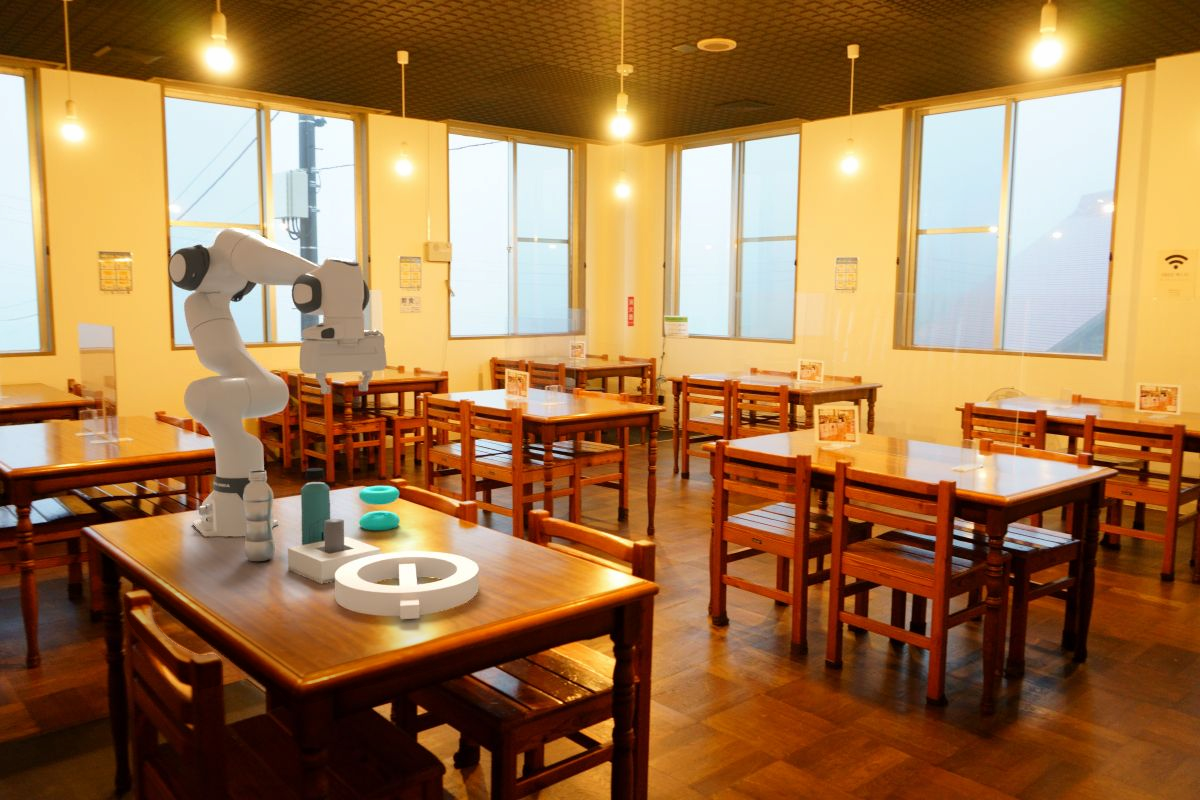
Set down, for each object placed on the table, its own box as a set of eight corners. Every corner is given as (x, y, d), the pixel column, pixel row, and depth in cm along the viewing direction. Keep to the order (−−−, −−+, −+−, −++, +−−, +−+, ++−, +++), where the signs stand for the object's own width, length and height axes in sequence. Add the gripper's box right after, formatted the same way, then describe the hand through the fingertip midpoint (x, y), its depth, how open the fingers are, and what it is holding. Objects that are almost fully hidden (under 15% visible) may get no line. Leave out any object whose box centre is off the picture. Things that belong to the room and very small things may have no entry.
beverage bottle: (322, 560, 203) (321, 472, 201) (295, 558, 204) (293, 470, 202) (337, 552, 209) (335, 466, 207) (310, 550, 211) (309, 465, 209)
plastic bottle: (246, 566, 198) (243, 475, 196) (242, 558, 204) (240, 469, 202) (277, 562, 201) (275, 473, 199) (272, 554, 207) (271, 467, 205)
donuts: (406, 489, 232) (371, 494, 226) (406, 527, 233) (371, 533, 227) (387, 483, 240) (352, 487, 233) (387, 520, 241) (352, 526, 234)
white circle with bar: (410, 628, 163) (410, 602, 163) (304, 599, 178) (303, 575, 177) (506, 588, 187) (506, 565, 186) (406, 565, 201) (405, 544, 201)
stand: (288, 569, 196) (287, 548, 195) (346, 557, 206) (346, 536, 205) (322, 584, 186) (321, 561, 185) (381, 570, 196) (380, 548, 196)
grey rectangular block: (321, 566, 196) (320, 520, 195) (338, 562, 198) (337, 517, 197) (331, 570, 193) (330, 524, 192) (347, 566, 196) (347, 521, 195)
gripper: (376, 329, 213) (377, 388, 215) (295, 330, 199) (296, 393, 200) (391, 330, 209) (392, 390, 210) (309, 331, 194) (311, 396, 196)
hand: (344, 392), depth 205 cm, fingers open, 8 cm apart
